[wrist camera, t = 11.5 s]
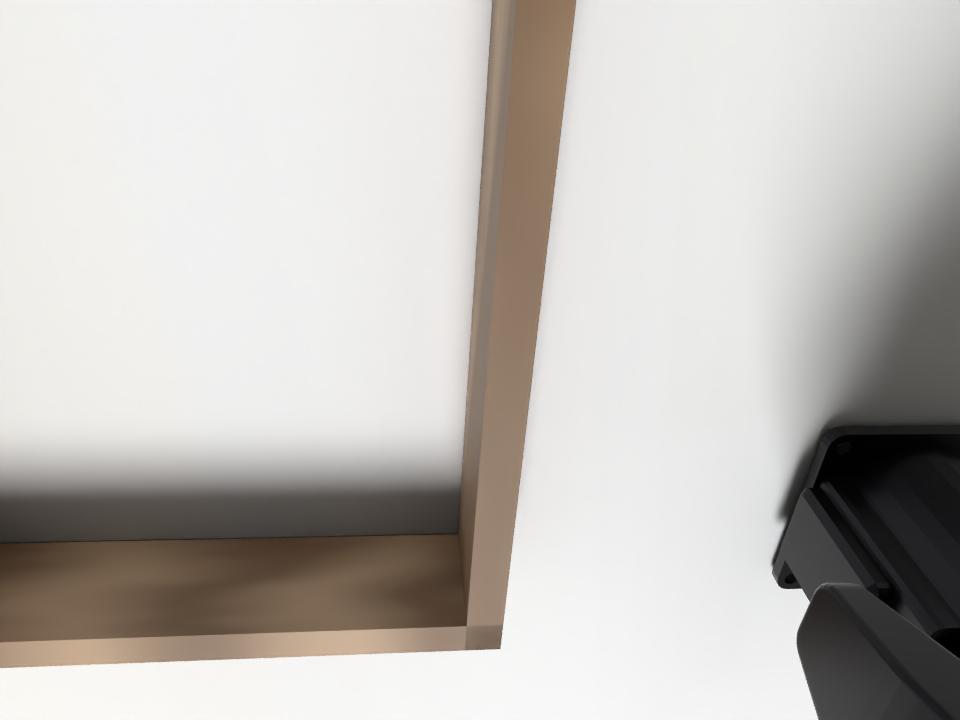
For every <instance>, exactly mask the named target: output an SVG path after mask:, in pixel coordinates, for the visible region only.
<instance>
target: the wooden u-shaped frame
mask: <svg viewBox="0 0 960 720" xmlns="http://www.w3.org/2000/svg"><path fill="white" fill-rule="evenodd" d="M575 7H576V0H493V2H492V18H491V33H490V49H489V64H488V79H487V95H486V110H485V126H484V141H483V156H482V172H481V187H480V203H479V218H478V233H477V249H476V264H475V280H474V295H473V310H472V326H471V341H470V357H469V372H468V387H467V403H466V418H465V434H464V449H463V464H462V480H461V495H460V511H459V526H458V534H442V535H393V536H345V537H296V538H247V539H199V540H150V541H101V542H53V543H4V544H0V668H12V667H38V666H64V665H90V664H117V663H143V662H169V661H196V660H222V659H248V658H274V657H301V656H327V655H353V654H380V653H406V652H432V651H458V650H485V649H500V646H501V638H502V629H503V621H504V612H505V603H506V595H507V586H508V578H509V569H510V561H511V552H512V544H513V535H514V527H515V518H516V510H517V501H518V493H519V484H520V476H521V467H522V459H523V450H524V441H525V433H526V424H527V416H528V407H529V399H530V390H531V382H532V373H533V365H534V356H535V348H536V339H537V331H538V322H539V314H540V305H541V296H542V288H543V279H544V271H545V262H546V254H547V245H548V237H549V228H550V220H551V211H552V203H553V194H554V186H555V177H556V169H557V160H558V151H559V143H560V134H561V126H562V117H563V109H564V100H565V92H566V83H567V75H568V66H569V58H570V49H571V41H572V32H573V24H574V15H575Z"/></svg>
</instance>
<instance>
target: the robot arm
mask: <svg viewBox="0 0 960 720" xmlns="http://www.w3.org/2000/svg"><path fill="white" fill-rule="evenodd" d="M841 442H843V443H842V444H840V443H841ZM838 444H840V445H839V446H837V445H838ZM772 574H773V576H774V578H775V580H776V582H777V583H778V585H779V586H780V587H781V588H784V589H803V591H804V593H805V594H806V596H807V598H808V599H809V601H810V604H809V606H808V608H807V610H806V613H805V615H804V617H803V619H802V622H801V624H800V626H799V629H798V633H797V649H798V654H799V657H800V661H801V664H802V667H803V670H804V674H805V677H806V680H807V684H808V687H809V690H810V693H811V697H812V700H813V703H814V706H815V710H816V713H817V716H818V720H960V426H842V427H836V428H833V429H831V430H829V431H828V432H827V433H826V434H825V435H824V436H823V438H822V439H821V442H820V444H819V447H818V450H817V452H816V455H815V458H814V460H813V463H812V466H811V468H810V471H809V474H808V476H807V479H806V482H805V484H804V487H803V490H802V493H801V494H800V496H799V499H798V502H797V504H796V507H795V510H794V512H793V515H792V518H791V520H790V523H789V526H788V528H787V531H786V534H785V536H784V539H783V542H782V545H781V547H780V551H779V554H778V557H777V559H776V562H775V565H774V568H773V571H772Z"/></svg>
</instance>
